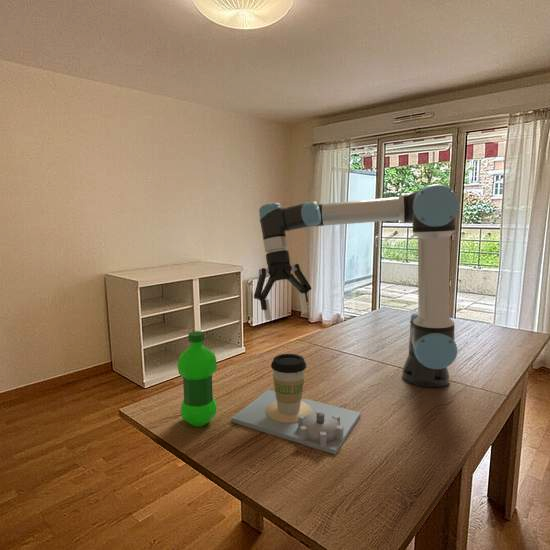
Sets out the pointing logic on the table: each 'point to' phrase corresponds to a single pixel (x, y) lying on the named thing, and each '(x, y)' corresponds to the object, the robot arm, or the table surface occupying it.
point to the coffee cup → (288, 382)
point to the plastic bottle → (197, 381)
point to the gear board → (300, 422)
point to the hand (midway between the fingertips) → (287, 316)
